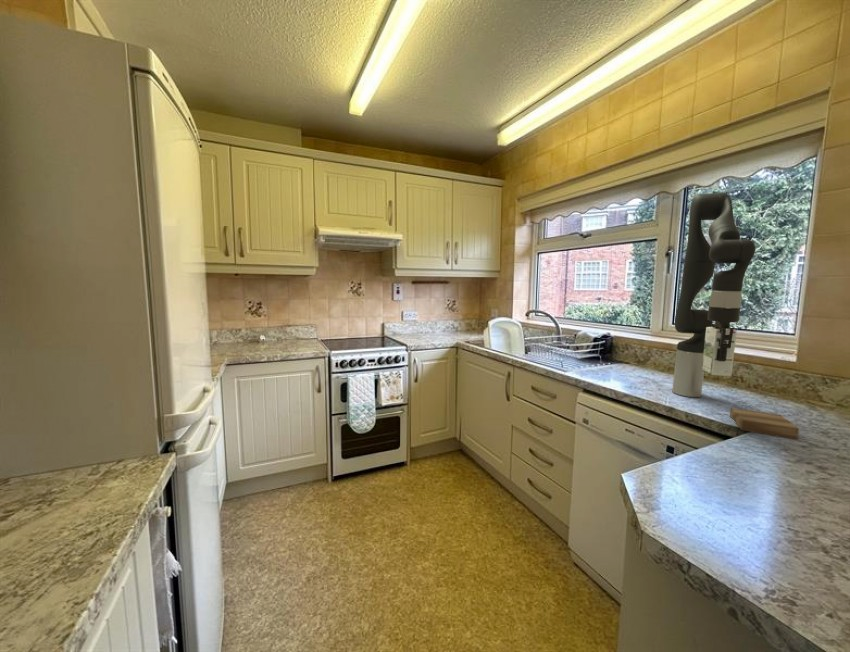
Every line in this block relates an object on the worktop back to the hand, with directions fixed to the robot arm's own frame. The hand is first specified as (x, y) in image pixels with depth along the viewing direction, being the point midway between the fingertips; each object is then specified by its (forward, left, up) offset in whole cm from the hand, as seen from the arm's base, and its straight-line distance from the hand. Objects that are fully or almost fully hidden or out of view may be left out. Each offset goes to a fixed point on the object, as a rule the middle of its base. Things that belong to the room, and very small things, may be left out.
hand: (717, 358), depth 111 cm
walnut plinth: (+1, +12, -20) cm, 23 cm away
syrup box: (0, 0, -5) cm, 5 cm away
